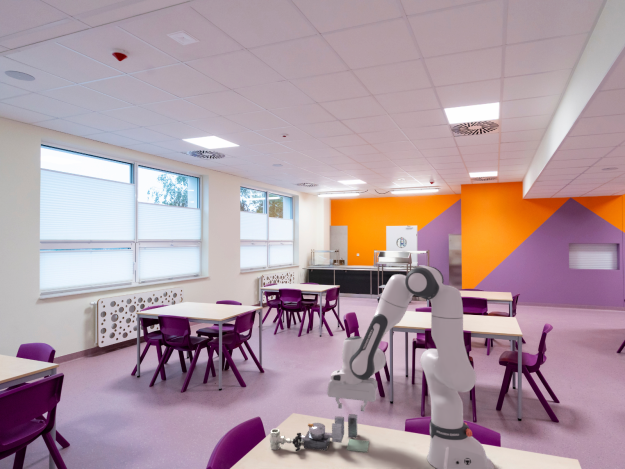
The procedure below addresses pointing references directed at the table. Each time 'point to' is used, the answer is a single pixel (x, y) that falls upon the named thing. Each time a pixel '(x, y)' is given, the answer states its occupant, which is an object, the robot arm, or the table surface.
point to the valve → (283, 440)
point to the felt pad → (358, 445)
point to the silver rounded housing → (319, 433)
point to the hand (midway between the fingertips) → (351, 409)
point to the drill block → (315, 442)
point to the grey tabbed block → (352, 426)
